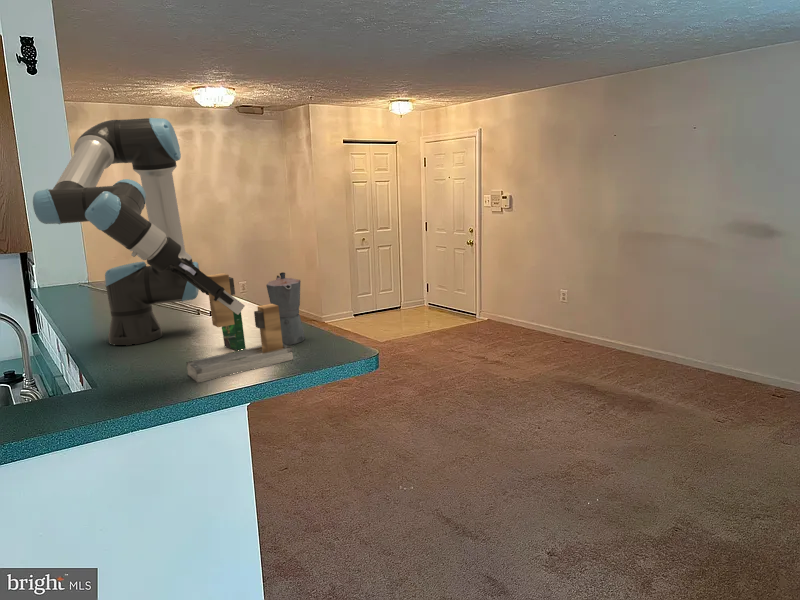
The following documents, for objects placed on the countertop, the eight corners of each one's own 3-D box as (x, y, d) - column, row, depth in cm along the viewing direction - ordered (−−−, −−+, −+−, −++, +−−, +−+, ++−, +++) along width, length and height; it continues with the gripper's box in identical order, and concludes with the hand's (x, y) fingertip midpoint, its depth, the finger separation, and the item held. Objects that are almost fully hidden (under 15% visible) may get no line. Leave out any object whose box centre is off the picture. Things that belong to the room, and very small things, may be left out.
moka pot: (279, 350, 158) (271, 277, 153) (264, 338, 171) (257, 271, 167) (313, 343, 162) (306, 272, 158) (296, 332, 175) (289, 266, 171)
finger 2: (258, 353, 149) (252, 307, 146) (277, 348, 152) (272, 303, 149) (264, 356, 145) (258, 309, 143) (283, 351, 148) (278, 305, 146)
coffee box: (223, 346, 165) (217, 301, 162) (232, 344, 166) (226, 299, 164) (236, 351, 159) (231, 304, 156) (246, 349, 161) (240, 302, 158)
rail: (188, 374, 141) (186, 362, 140) (280, 353, 154) (278, 341, 154) (197, 382, 135) (196, 369, 134) (293, 359, 148) (291, 347, 147)
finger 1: (212, 324, 140) (206, 275, 138) (233, 320, 143) (227, 272, 141) (218, 327, 137) (211, 277, 135) (239, 323, 140) (233, 274, 138)
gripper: (137, 259, 135) (216, 316, 147) (154, 265, 121) (240, 327, 133) (157, 234, 137) (234, 292, 149) (177, 236, 123) (260, 300, 135)
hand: (237, 308), depth 141 cm, fingers closed on finger 1, 4 cm apart
